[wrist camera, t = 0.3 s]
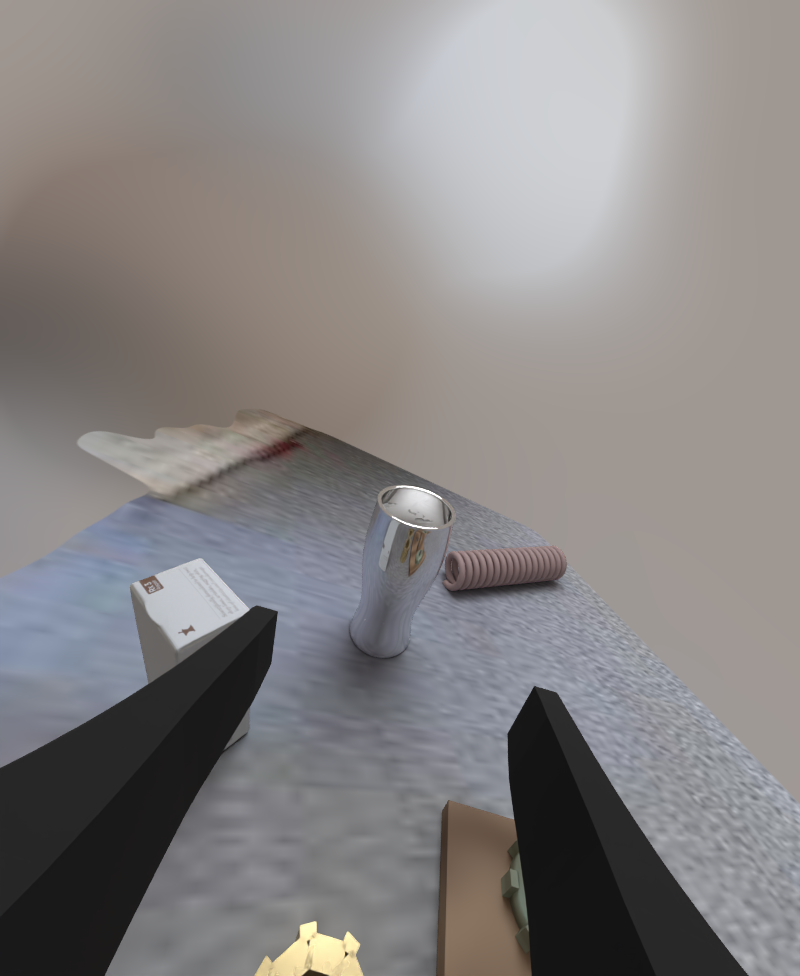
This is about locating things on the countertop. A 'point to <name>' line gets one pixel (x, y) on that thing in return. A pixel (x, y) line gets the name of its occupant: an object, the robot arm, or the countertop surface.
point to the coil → (503, 567)
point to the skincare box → (183, 618)
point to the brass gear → (315, 956)
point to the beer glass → (399, 566)
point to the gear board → (481, 896)
